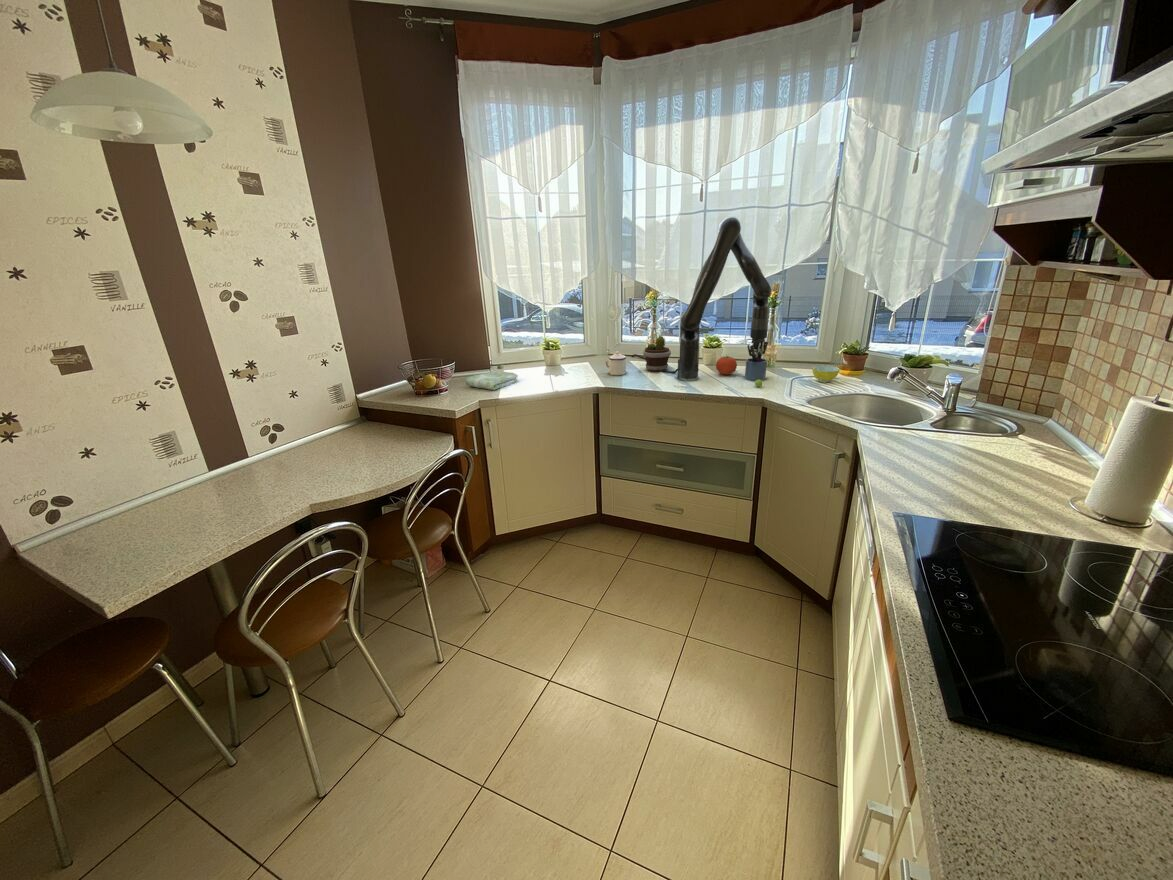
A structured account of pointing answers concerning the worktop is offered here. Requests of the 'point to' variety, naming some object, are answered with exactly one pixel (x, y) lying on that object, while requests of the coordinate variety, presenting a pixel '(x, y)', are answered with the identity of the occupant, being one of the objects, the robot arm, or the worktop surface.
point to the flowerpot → (657, 355)
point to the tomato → (726, 365)
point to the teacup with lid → (617, 364)
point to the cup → (755, 370)
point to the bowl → (825, 372)
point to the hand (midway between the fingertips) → (756, 363)
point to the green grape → (758, 383)
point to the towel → (492, 380)
